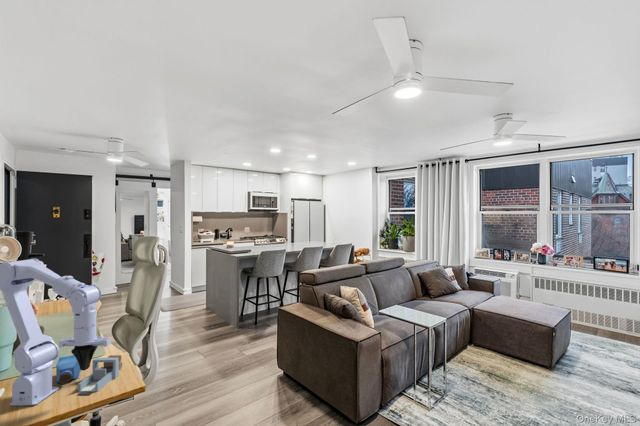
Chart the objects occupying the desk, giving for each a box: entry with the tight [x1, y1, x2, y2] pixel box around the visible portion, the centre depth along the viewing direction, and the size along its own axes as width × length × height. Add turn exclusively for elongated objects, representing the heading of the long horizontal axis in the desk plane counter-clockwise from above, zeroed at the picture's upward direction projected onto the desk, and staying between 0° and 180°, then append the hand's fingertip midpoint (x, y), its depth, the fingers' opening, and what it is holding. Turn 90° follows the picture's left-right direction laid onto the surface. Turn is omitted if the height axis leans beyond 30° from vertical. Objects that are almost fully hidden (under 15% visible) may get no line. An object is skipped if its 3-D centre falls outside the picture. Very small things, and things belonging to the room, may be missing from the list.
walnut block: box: [102, 354, 122, 369], centre depth 117 cm, size 4×4×4 cm
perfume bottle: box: [55, 354, 82, 384], centre depth 112 cm, size 6×6×12 cm
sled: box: [93, 361, 123, 382], centre depth 115 cm, size 10×4×4 cm, turn 2°
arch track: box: [77, 357, 121, 396], centre depth 110 cm, size 16×8×7 cm, turn 2°
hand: (85, 368), depth 99 cm, fingers closed
